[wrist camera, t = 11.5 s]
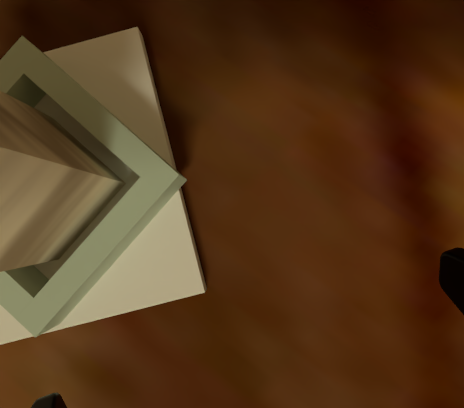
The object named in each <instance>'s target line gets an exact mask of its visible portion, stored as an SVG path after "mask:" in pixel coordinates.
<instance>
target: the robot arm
mask: <svg viewBox="0 0 464 408" xmlns="http://www.w3.org/2000/svg"><path fill="white" fill-rule="evenodd" d="M439 283H440V286H441V288H442V289H443V291H444V292H445V293H446V294H447V295H448V297H449V298H450V299H451V300H452V301H453V303H454V304H455V305H456V306H457V307H458V309H459V310H460V311H461V312H462V313H463V315H464V249H463V248H454V249H451V250H448V251H446V252H444V253H442V255H441V257H440V270H439ZM31 408H67V407H66V405H65V403H64V401H63V399H62V397H61V395H60V394H59V393H52V394H49V395H47V396H44V397H41V398H39V399H37V400H36V401H35V402H34V404H33V405H32V407H31Z"/></svg>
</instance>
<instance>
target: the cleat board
mask: <svg viewBox="0 0 464 408" xmlns="http://www.w3.org/2000/svg"><path fill="white" fill-rule="evenodd" d="M0 91H2V92H4V93H6V94H8V95H10V96H12V97H14V98H15V99H17V100H19V101H21V102H23V103H25V104H27V105H29V106H31V107H33V108H35V109H37V110H39V111H41V112H43V113H44V114H46V115H48V116H50V117H52V118H53V119H54V120H56V121H57V122H58V123H59V124H60V125H61V126H62V127H63V128H64V129H66V130H67V131H68V132H69V133H70V134H71V135H72V136H73V137H75V138H76V139H77V140H78V141H79V142H80V143H81V144H82V145H84V146H85V147H86V148H87V149H88V150H89V151H90V152H91V153H92V154H94V155H95V156H96V157H97V158H98V159H99V160H100V161H101V162H103V163H104V164H105V165H106V166H107V167H108V168H109V169H110V170H112V171H113V172H114V173H115V174H116V175H117V176H118V177H119V178H120V179H122V180H123V181H124V182H125V183H126V184H125V185H124V186H123V187H122V188H121V189H120V191H119V192H118V193H117V194H116V195H115V196H114V197H113V198H112V200H111V201H110V202H109V203H108V204H107V205H106V206H105V208H104V209H103V210H102V211H101V212H100V213H99V214H98V215H97V217H96V218H95V219H94V220H93V221H92V222H91V223H90V225H89V226H88V227H87V228H86V229H85V230H84V231H83V233H82V234H81V235H80V236H79V237H78V238H77V239H76V240H75V242H74V243H73V244H72V245H71V246H70V247H69V248H68V250H67V251H66V252H65V253H64V254H63V255H62V256H61V257H60V259H58V260H53V261H49V262H44V263H39V264H35V265H30V266H25V267H21V268H16V269H11V270H7V271H2V272H0V345H1V344H5V343H9V342H12V341H16V340H20V339H24V338H28V337H32V336H34V337H37V336H39V335H41V334H44V333H48V332H52V331H56V330H59V329H63V328H67V327H71V326H75V325H79V324H83V323H87V322H91V321H95V320H99V319H103V318H107V317H110V316H114V315H118V314H122V313H126V312H130V311H134V310H138V309H142V308H146V307H150V306H154V305H158V304H161V303H165V302H169V301H173V300H177V299H181V298H185V297H189V296H193V295H197V294H201V293H205V291H206V290H207V288H206V284H205V280H204V276H203V272H202V268H201V264H200V260H199V256H198V252H197V248H196V244H195V241H194V237H193V233H192V229H191V225H190V221H189V217H188V213H187V209H186V205H185V201H184V197H183V193H182V189H181V186H182V185H183V184H184V183H185V182H186V181H187V179H186V178H185V177H183V176H182V175H181V174H180V173H179V172H178V171H177V170H176V166H175V162H174V158H173V154H172V150H171V146H170V142H169V138H168V134H167V131H166V127H165V123H164V119H163V115H162V111H161V107H160V103H159V99H158V95H157V91H156V87H155V83H154V79H153V75H152V72H151V68H150V64H149V60H148V56H147V52H146V48H145V44H144V40H143V36H142V34H141V32H140V30H139V29H138V27H134V28H130V29H127V30H123V31H120V32H116V33H112V34H109V35H105V36H101V37H98V38H94V39H90V40H87V41H83V42H79V43H76V44H72V45H68V46H65V47H61V48H57V49H54V50H50V51H46V52H42V51H41V50H39V49H38V48H37V47H36V46H34V45H33V44H32V43H31V42H29V41H28V40H27V39H26V38H25V37H23V36H21V37H20V38H19V39H18V41H17V42H16V43H15V44H14V45H13V46H12V47H11V48H10V50H9V51H8V52H7V53H6V54H5V55H4V56H3V58H2V59H1V60H0Z"/></svg>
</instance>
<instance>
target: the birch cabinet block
mask: <svg viewBox="0 0 464 408" xmlns="http://www.w3.org/2000/svg"><path fill="white" fill-rule="evenodd" d="M125 184H126V183H125V182H124V181H123V180H122V179H120V178H119V177H118V176H117V175H116V174H115V173H114V172H113V171H112V170H110V169H109V168H108V167H107V166H106V165H105V164H104V163H103V162H101V161H100V160H99V159H98V158H97V157H96V156H95V155H94V154H92V153H91V152H90V151H89V150H88V149H87V148H86V147H85V146H84V145H82V144H81V143H80V142H79V141H78V140H77V139H76V138H75V137H73V136H72V135H71V134H70V133H69V132H68V131H67V130H66V129H64V128H63V127H62V126H61V125H60V124H59V123H58V122H57V121H56V120H54V119H53V118H52V117H50V116H48V115H46V114H44V113H43V112H41V111H39V110H37V109H35V108H33V107H31V106H29V105H27V104H25V103H23V102H21V101H19V100H17V99H15V98H14V97H12V96H10V95H8V94H6V93H4V92H2V91H0V272H2V271H7V270H11V269H16V268H21V267H25V266H30V265H35V264H39V263H44V262H49V261H53V260H58V259H60V257H61V256H62V255H63V254H64V253H65V252H66V251H67V250H68V248H69V247H70V246H71V245H72V244H73V243H74V242H75V240H76V239H77V238H78V237H79V236H80V235H81V234H82V233H83V231H84V230H85V229H86V228H87V227H88V226H89V225H90V223H91V222H92V221H93V220H94V219H95V218H96V217H97V215H98V214H99V213H100V212H101V211H102V210H103V209H104V208H105V206H106V205H107V204H108V203H109V202H110V201H111V200H112V198H113V197H114V196H115V195H116V194H117V193H118V192H119V191H120V189H121V188H122V187H123V186H124V185H125Z"/></svg>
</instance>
